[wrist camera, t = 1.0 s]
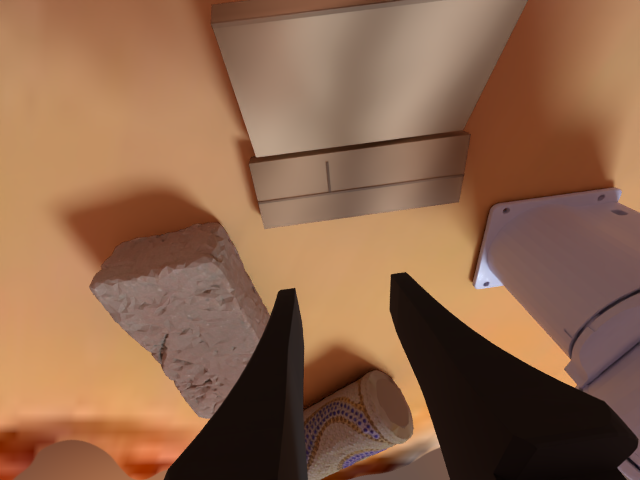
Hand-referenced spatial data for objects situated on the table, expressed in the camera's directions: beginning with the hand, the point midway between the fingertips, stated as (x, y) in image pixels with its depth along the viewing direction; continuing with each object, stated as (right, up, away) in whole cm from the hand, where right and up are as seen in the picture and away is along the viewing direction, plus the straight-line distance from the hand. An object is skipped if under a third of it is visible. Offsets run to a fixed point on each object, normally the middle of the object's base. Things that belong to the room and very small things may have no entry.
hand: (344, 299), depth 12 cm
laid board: (+1, +7, +7) cm, 10 cm away
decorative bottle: (-3, -18, +23) cm, 30 cm away
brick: (-10, -3, +13) cm, 17 cm away
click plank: (+1, +11, +2) cm, 11 cm away
